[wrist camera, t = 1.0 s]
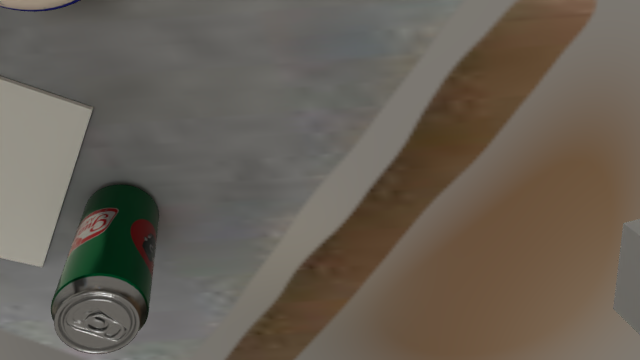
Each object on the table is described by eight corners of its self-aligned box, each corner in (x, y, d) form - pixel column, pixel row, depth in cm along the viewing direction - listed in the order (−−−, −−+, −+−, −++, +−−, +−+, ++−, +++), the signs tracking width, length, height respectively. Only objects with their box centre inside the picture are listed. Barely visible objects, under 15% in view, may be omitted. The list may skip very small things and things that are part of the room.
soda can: (112, 167, 38) (81, 270, 27) (173, 205, 40) (166, 313, 30) (71, 218, 39) (26, 335, 28) (133, 251, 41) (111, 372, 31)
